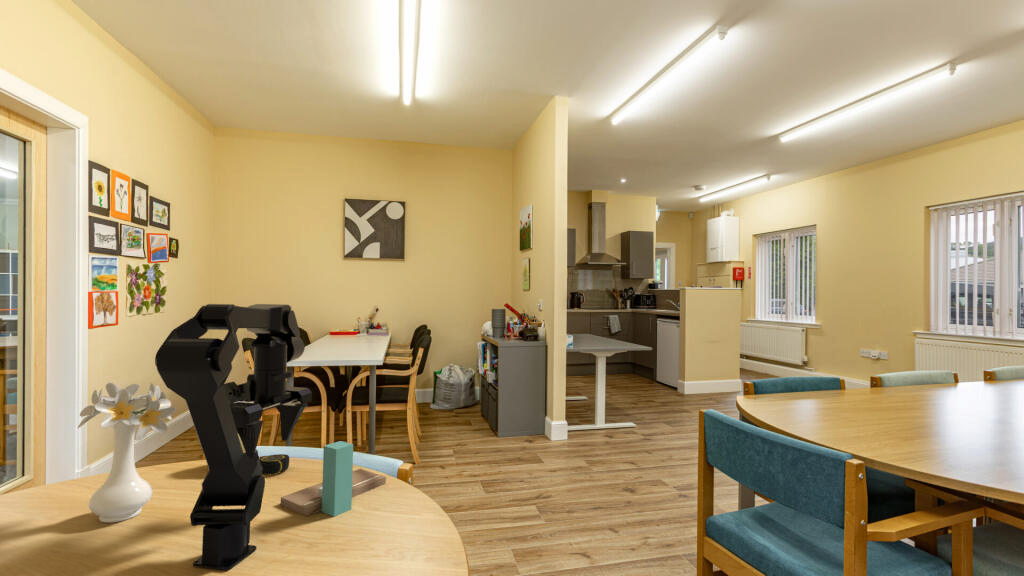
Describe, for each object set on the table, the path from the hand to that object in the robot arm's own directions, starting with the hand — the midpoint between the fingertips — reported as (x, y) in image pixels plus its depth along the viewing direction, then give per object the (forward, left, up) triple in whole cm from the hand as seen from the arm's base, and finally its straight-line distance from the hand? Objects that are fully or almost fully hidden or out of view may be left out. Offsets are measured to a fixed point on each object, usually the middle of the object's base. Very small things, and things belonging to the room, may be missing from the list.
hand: (268, 447), depth 89 cm
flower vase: (-5, +26, -13) cm, 30 cm away
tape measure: (+21, +15, -14) cm, 29 cm away
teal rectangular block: (+6, -11, -13) cm, 18 cm away
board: (+13, -7, -13) cm, 20 cm away
